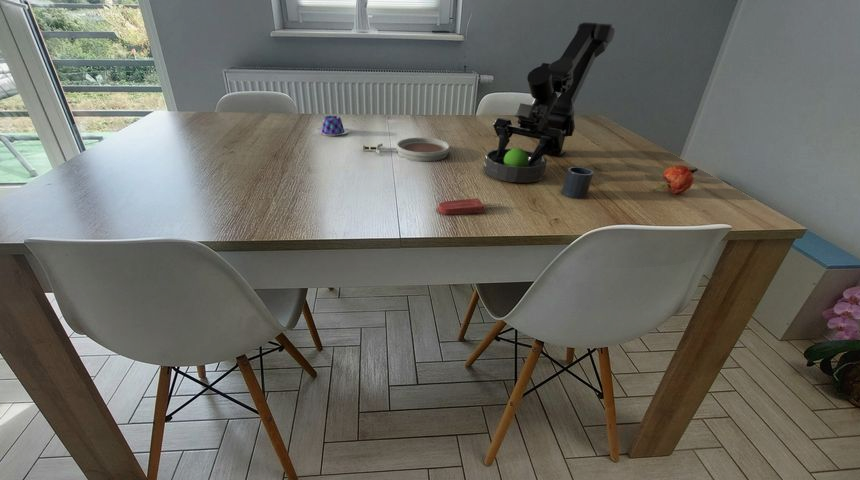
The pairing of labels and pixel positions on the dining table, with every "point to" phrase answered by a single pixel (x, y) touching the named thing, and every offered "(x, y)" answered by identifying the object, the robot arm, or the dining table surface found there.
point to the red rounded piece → (678, 178)
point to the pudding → (332, 126)
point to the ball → (516, 158)
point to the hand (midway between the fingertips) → (513, 160)
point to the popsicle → (463, 206)
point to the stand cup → (577, 182)
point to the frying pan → (418, 149)
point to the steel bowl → (513, 168)
